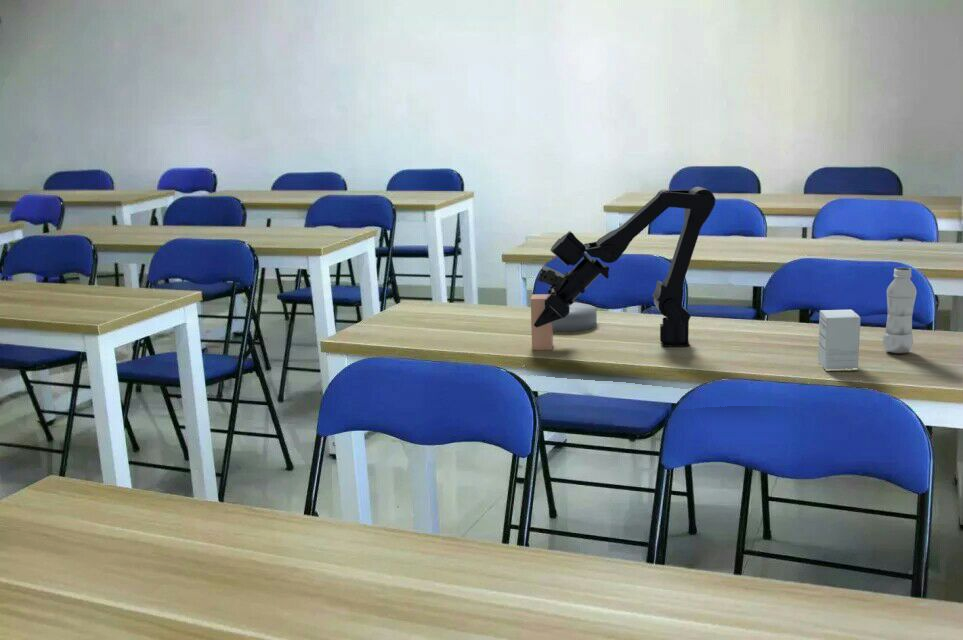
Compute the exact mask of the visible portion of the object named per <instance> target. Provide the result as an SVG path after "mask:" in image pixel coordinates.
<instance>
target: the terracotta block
mask: <svg viewBox="0 0 963 640" xmlns="http://www.w3.org/2000/svg"><path fill="white" fill-rule="evenodd" d="M549 295H550V294H548V293H547V294H545V293H544V294H542V293H541V294H538V293H537V294H531V297H530V321H531V322H530V323H531V326H530V327H531V328H530V329H531V331H530V332H531V350H539V351H541V350H543V351H546V350H551V351H552V350H553V348H552V347H554V331H553V322H550V323H547V324H545V325H542V326H540V327H537V328H536V327H535V326H534V323H535V322H536V320H537V319H538V317H539V316H540V315H541V313H542V312H543V310H544V309H545V299H546V298H547V297H548V296H549ZM545 349H546V350H545Z"/></svg>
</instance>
